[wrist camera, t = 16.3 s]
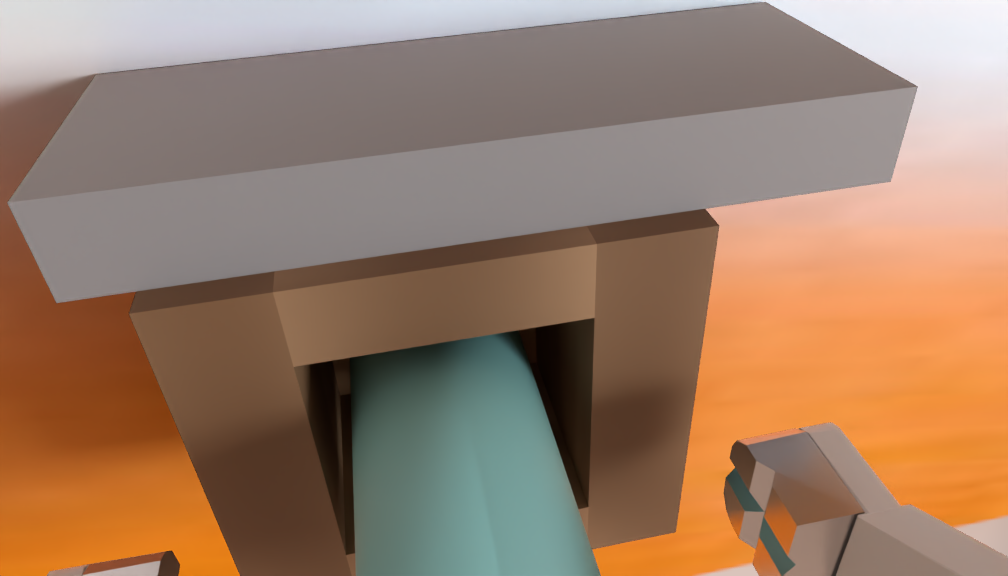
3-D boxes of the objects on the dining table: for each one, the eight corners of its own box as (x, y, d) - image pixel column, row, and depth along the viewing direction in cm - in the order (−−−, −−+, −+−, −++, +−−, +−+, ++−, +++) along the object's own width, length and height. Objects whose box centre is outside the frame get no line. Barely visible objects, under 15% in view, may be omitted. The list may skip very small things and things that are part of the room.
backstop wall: (126, 156, 13) (56, 302, 10) (95, 74, 13) (7, 202, 9) (753, 79, 15) (890, 181, 11) (766, 2, 14) (917, 86, 11)
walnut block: (271, 425, 18) (258, 618, 14) (183, 152, 14) (129, 313, 10) (600, 369, 19) (675, 531, 15) (611, 99, 15) (719, 225, 11)
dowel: (335, 248, 14) (337, 738, 7) (499, 225, 15) (663, 667, 7) (362, 375, 16) (385, 869, 9) (508, 352, 17) (646, 805, 9)
